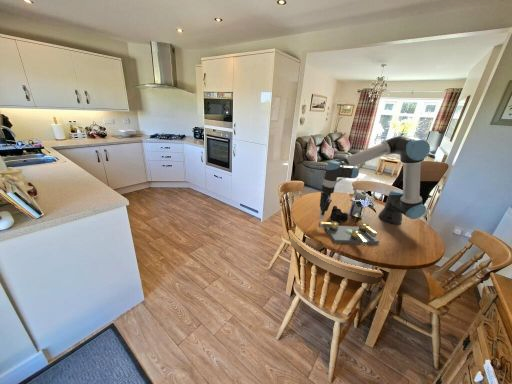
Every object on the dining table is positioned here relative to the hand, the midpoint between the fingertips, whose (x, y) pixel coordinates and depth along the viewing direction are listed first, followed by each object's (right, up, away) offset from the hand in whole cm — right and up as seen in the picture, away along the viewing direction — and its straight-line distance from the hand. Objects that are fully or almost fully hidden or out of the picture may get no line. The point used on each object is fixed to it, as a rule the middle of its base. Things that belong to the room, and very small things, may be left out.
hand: (320, 218), depth 139 cm
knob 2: (+28, -9, -5) cm, 30 cm away
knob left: (+18, -12, -14) cm, 26 cm away
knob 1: (+4, -6, -4) cm, 8 cm away
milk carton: (+33, 0, +22) cm, 39 cm away
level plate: (+17, -10, -5) cm, 21 cm away
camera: (+16, -4, +11) cm, 20 cm away
